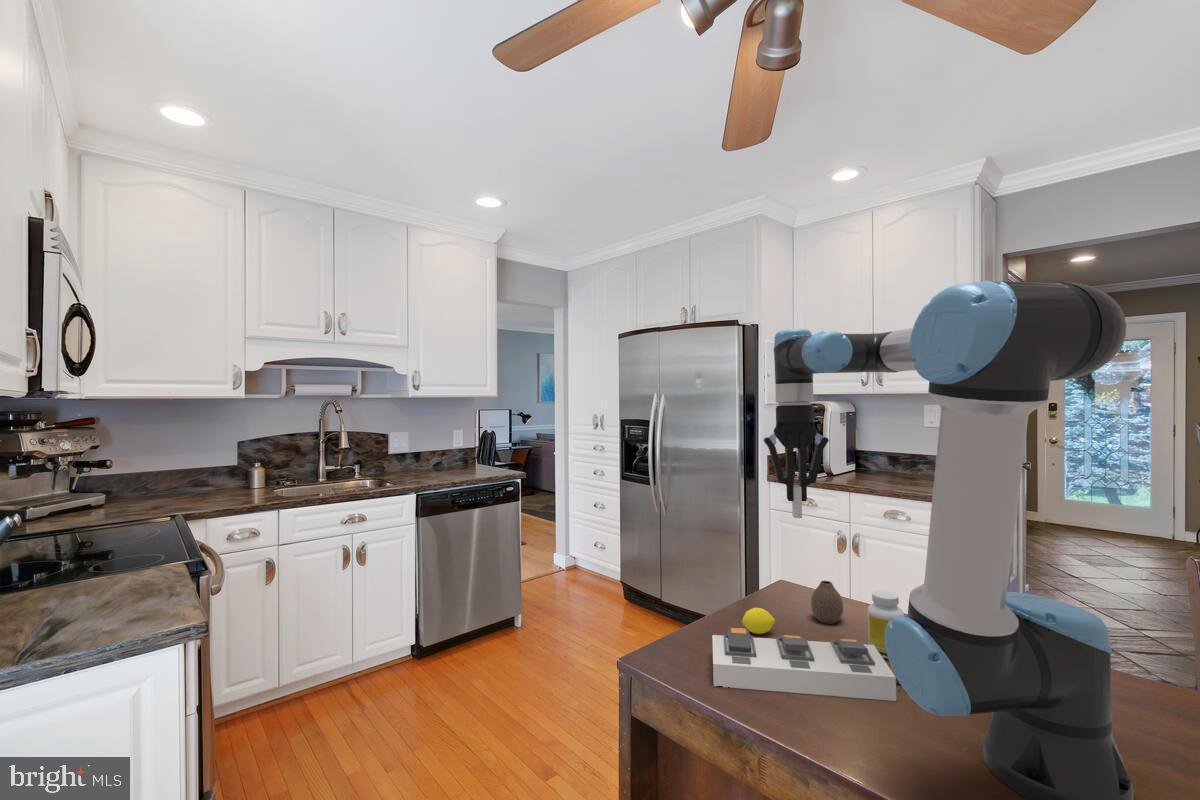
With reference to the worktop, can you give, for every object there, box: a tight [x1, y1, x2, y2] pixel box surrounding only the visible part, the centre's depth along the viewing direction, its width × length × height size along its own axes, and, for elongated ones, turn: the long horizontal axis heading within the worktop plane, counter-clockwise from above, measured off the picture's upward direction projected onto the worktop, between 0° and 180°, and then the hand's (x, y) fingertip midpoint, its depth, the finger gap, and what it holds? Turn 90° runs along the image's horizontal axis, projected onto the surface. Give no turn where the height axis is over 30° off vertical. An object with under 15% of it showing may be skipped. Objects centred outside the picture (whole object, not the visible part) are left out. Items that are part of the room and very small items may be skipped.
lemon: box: [741, 607, 776, 635], centre depth 116 cm, size 7×5×5 cm
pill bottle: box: [867, 590, 905, 660], centre depth 106 cm, size 6×6×12 cm
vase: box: [810, 580, 844, 625], centre depth 122 cm, size 7×7×9 cm
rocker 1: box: [727, 626, 751, 653], centre depth 101 cm, size 6×4×1 cm, turn 169°
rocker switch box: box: [711, 633, 901, 702], centre depth 97 cm, size 12×40×5 cm, turn 79°
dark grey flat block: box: [780, 634, 809, 651], centre depth 99 cm, size 6×4×1 cm, turn 168°
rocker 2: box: [835, 638, 868, 655], centre depth 97 cm, size 6×4×1 cm, turn 168°
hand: (797, 516), depth 111 cm, fingers closed
